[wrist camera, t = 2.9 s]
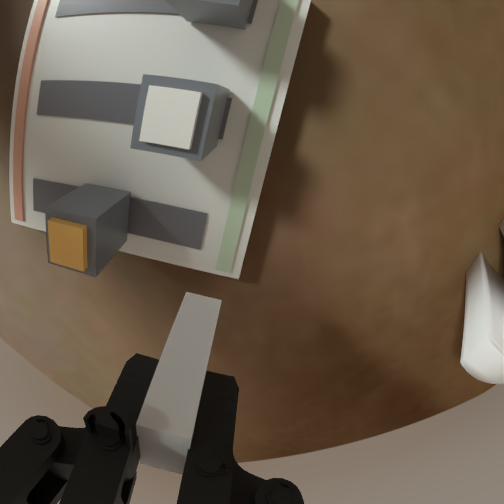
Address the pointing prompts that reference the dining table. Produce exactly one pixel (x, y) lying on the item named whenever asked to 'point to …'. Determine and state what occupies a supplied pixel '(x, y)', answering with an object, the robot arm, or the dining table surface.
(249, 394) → the dining table surface
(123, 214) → the block
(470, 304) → the wavy white extrusion
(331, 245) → the dining table surface
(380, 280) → the dining table surface
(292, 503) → the robot arm
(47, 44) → the panel
